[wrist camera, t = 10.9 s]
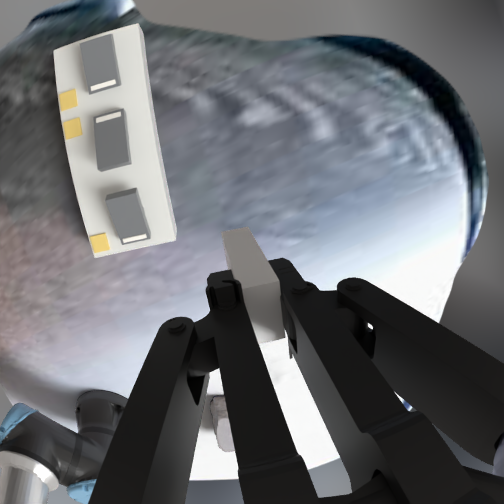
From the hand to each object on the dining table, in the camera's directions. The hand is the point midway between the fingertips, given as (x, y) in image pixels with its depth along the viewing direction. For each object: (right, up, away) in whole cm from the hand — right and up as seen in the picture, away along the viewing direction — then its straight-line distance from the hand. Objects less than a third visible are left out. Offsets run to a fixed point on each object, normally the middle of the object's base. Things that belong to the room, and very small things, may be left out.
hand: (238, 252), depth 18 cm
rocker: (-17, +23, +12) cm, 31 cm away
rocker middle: (-16, +13, +16) cm, 26 cm away
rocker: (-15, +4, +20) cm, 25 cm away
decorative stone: (-4, -35, +46) cm, 58 cm away
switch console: (-18, +16, +22) cm, 33 cm away
